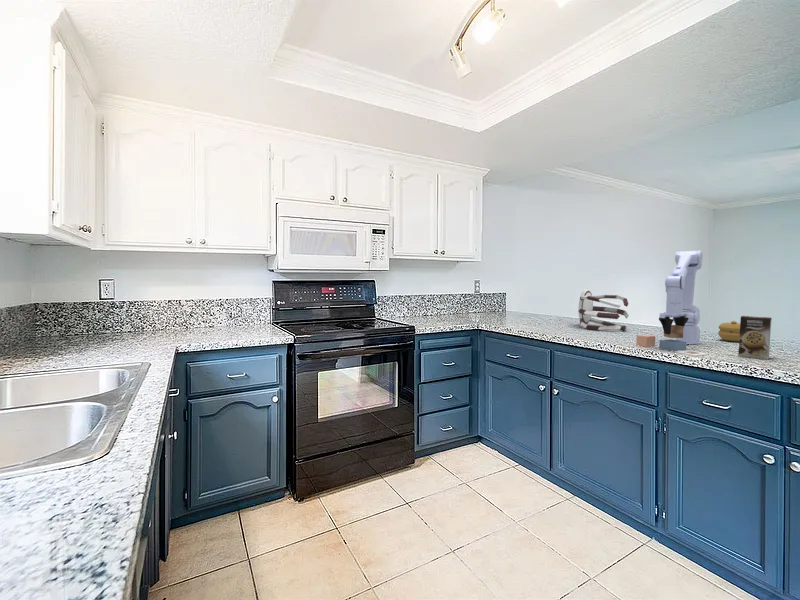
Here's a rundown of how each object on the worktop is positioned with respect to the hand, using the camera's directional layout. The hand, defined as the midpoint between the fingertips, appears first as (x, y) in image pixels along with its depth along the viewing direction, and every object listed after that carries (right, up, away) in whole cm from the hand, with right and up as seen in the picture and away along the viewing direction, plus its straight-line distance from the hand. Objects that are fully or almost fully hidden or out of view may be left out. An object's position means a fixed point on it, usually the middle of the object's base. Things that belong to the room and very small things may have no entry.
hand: (673, 333), depth 176 cm
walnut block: (0, -2, 0) cm, 2 cm away
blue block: (0, -7, 0) cm, 7 cm away
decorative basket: (+2, -3, +69) cm, 69 cm away
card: (+1, -8, -10) cm, 12 cm away
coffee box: (+21, -8, -17) cm, 28 cm away
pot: (+43, -6, +20) cm, 48 cm away
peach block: (-7, -7, +9) cm, 13 cm away
